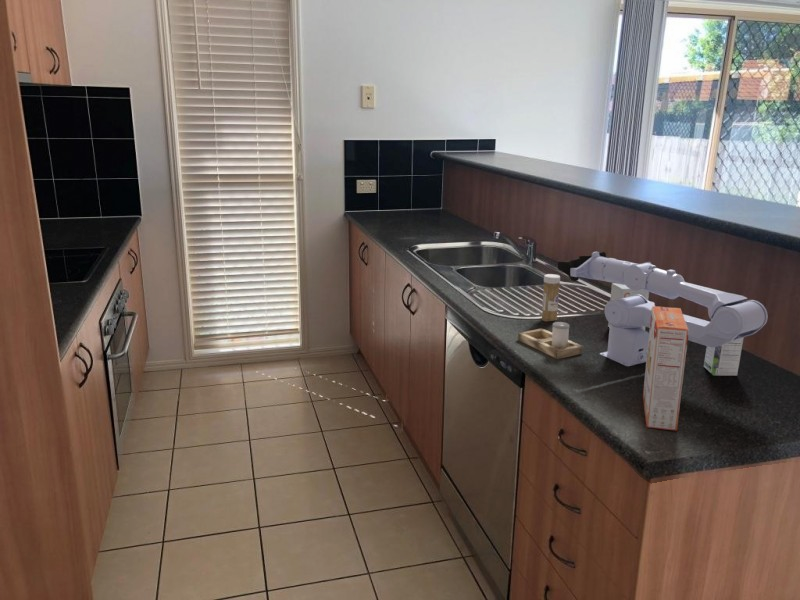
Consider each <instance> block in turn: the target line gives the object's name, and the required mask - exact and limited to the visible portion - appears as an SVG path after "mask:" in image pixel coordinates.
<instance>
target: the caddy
mask: <svg viewBox="0 0 800 600" xmlns="http://www.w3.org/2000/svg"><path fill="white" fill-rule="evenodd" d="M517 334H518V336H517V341H520V342H522V343H524V344H525V345H528V346H530V347H531V348H534V349H536V350H538V351H540V352H542V353H544V354H546V355H548V356H550V357H552V358H554V359H557V360H559V359H564V358H569V357H572V356H577V355H581V354H583V350H584V348H583V347H584V346H583V345H581V344H579V343H577V342H574V341H572V340H570V339H568V347H566V348H562V349H557V348H555V347H553V346H551V343H552V332H551V331H549V330H547V329H545V328H537V329H532V330H527V331H521V332H518V333H517Z"/></svg>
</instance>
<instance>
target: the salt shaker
mask: <svg viewBox="0 0 800 600" xmlns="http://www.w3.org/2000/svg"><path fill="white" fill-rule="evenodd" d="M551 330H552V343H551V346H553V347H555V348H557V349H562V348H566V347H568V340H569V332H570V324H569V323H568V322H565V321H555V322H553V323H552V329H551Z"/></svg>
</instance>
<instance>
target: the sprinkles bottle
mask: <svg viewBox="0 0 800 600" xmlns="http://www.w3.org/2000/svg"><path fill="white" fill-rule="evenodd" d="M560 283H561V276H560V275H559V274H555V273H554V274H553V273H547V274H544V275H543V292H542V293H543V294H542V307H541V308H542V310H541V311H542V312H541V313H542V314H541V320H542V321H543V322H552V321H557V320H558V310H559V296H560V295H559V292H560Z"/></svg>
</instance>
